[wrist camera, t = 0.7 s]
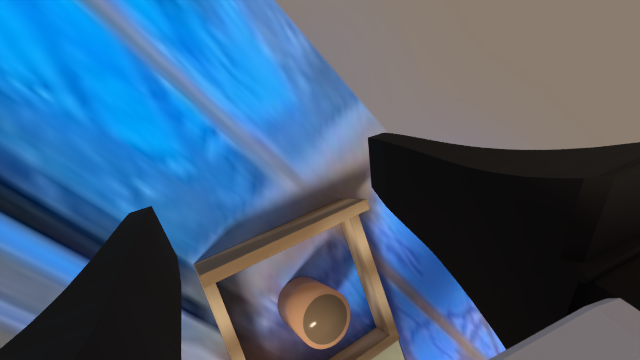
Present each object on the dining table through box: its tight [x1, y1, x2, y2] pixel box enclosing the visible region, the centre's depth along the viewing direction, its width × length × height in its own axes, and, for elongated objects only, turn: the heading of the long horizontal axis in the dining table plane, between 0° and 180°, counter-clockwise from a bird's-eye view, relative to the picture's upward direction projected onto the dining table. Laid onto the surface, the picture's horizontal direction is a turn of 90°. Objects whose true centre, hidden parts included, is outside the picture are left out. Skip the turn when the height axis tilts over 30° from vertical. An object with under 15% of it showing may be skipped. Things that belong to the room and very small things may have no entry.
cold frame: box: [194, 199, 400, 360], centre depth 32 cm, size 16×16×5 cm
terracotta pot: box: [278, 276, 350, 349], centre depth 31 cm, size 5×5×6 cm
